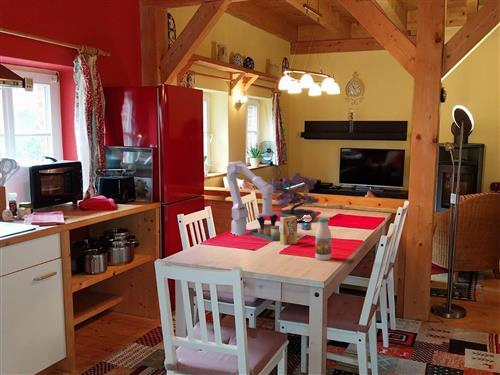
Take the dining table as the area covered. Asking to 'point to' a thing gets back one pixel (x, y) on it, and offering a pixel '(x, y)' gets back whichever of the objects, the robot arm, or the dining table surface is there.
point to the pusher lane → (255, 233)
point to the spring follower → (260, 231)
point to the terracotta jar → (267, 229)
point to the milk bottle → (323, 240)
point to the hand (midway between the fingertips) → (267, 228)
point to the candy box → (288, 230)
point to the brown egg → (274, 230)
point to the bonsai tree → (294, 196)
